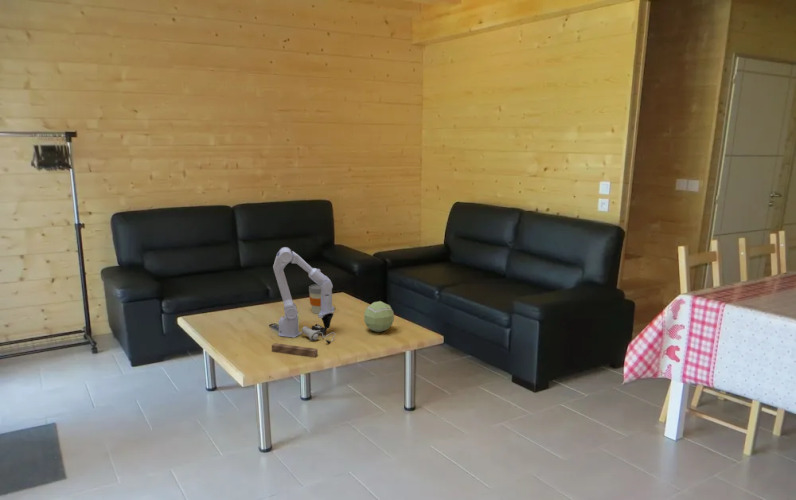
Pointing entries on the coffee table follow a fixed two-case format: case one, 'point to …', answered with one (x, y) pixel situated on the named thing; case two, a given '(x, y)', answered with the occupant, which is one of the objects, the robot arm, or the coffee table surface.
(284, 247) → the robot arm
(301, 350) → the bar
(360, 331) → the coffee table surface
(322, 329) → the clip-on lamp
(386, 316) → the decorative sphere
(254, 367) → the coffee table surface
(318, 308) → the reusable coffee cup
